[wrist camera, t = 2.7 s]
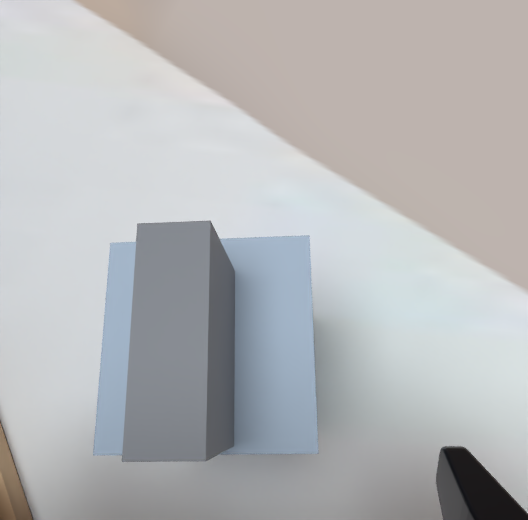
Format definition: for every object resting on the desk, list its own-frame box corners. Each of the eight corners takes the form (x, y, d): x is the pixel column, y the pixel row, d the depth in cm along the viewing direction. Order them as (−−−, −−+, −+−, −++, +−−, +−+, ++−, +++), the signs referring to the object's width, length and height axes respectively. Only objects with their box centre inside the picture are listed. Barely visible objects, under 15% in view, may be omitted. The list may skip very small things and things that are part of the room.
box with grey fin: (311, 432, 19) (324, 472, 7) (193, 433, 19) (8, 473, 7) (306, 314, 20) (311, 174, 8) (196, 317, 20) (44, 186, 8)
